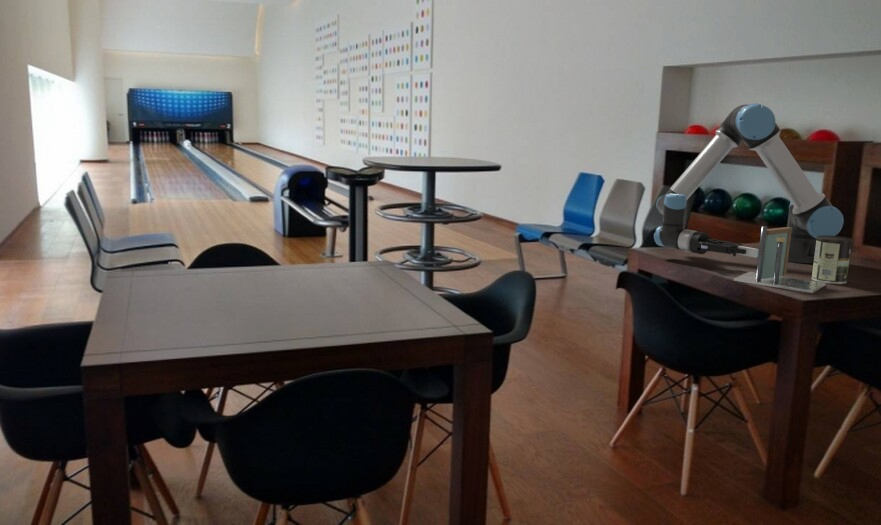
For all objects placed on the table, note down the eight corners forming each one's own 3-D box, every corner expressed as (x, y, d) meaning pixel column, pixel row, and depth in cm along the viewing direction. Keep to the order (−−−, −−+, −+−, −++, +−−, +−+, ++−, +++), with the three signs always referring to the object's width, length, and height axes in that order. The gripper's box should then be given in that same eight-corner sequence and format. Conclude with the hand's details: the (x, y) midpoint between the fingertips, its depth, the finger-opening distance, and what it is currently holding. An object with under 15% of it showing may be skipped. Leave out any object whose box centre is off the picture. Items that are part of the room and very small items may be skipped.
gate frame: (812, 293, 220) (820, 233, 217) (733, 280, 235) (740, 224, 231) (824, 285, 231) (832, 228, 228) (749, 273, 246) (755, 220, 242)
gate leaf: (763, 279, 231) (769, 230, 228) (758, 278, 232) (763, 229, 229) (786, 275, 238) (792, 227, 235) (781, 274, 239) (786, 227, 236)
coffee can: (840, 278, 243) (846, 236, 240) (851, 285, 233) (857, 241, 230) (807, 276, 245) (812, 234, 242) (816, 283, 235) (821, 239, 232)
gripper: (705, 251, 262) (766, 263, 243) (681, 254, 255) (743, 266, 236) (707, 230, 261) (769, 240, 242) (684, 232, 253) (746, 243, 234)
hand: (756, 253), depth 239 cm, fingers closed
